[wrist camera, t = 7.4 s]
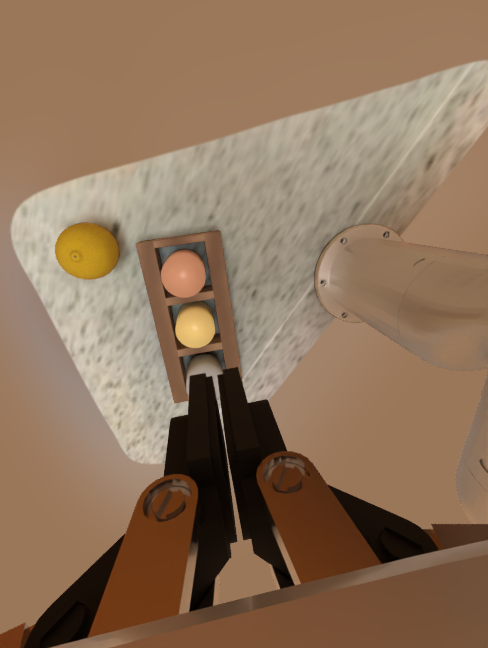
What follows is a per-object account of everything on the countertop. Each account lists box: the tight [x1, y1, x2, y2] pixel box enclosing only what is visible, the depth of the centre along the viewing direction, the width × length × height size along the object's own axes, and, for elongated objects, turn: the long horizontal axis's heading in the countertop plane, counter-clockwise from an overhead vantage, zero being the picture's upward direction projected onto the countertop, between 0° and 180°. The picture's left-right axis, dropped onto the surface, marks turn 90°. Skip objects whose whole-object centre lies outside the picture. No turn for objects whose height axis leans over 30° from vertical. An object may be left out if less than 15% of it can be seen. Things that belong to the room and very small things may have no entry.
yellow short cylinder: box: [175, 301, 215, 348], centre depth 38 cm, size 4×4×4 cm
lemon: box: [55, 223, 119, 279], centre depth 32 cm, size 6×6×8 cm
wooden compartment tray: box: [136, 230, 243, 403], centre depth 39 cm, size 9×20×3 cm, turn 7°
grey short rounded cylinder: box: [186, 354, 223, 400], centre depth 38 cm, size 4×4×4 cm
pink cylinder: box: [161, 249, 206, 298], centre depth 34 cm, size 4×4×4 cm
